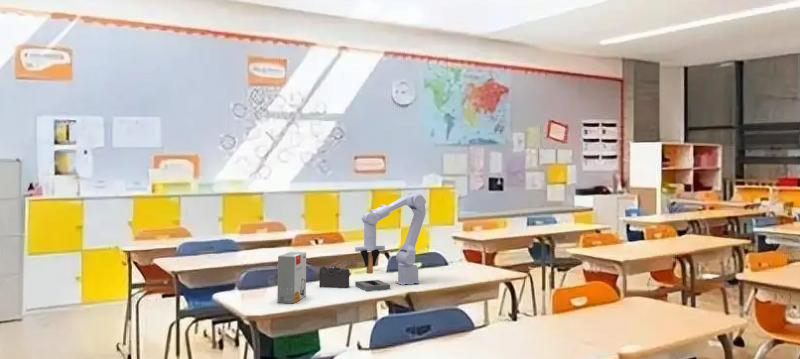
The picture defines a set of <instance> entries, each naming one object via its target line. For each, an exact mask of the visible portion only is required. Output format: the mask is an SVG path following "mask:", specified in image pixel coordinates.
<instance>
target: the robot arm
mask: <svg viewBox="0 0 800 359" xmlns="http://www.w3.org/2000/svg"><path fill="white" fill-rule="evenodd" d="M426 202H427V201H426V198H425V196H423V195H422V194H418V193H407V194H404V195H403V196H401V197H399V198H398V199H396V200H395V201H393V202H391V203H389V204H388V205H386V204H380V205H379V207H377V208H375V209H373V208H372V209H371V210H370V211H367V212H365V213H363V214H364V215H363V216H362V217H361V220H362V223H363V246H355V247H354V252H356V253H359V252H360V254H361V256H362V259H363V262H364V267H366V268H367V267H368V256H370V252H371V256H373V267H375V266H376V263H377V260H378V257H379V255H380V252H381V251H385V250H386V249H385V248H386V246H385V245H377V224H378V222H379V221H380V220H383V219H385V218H387V217H388V216H390V215H391V212H393V211H395V210H397V209H400V208H401V207H403V206H408V208H410V210H411V211H412V214H413V216H412V219H411V222H410V225H409V229H408V232H407V234H406V237H405V240H404V243H403V245H402V246H400V249H399V251H398V252H396V255H395V260H396V262H397V269H398V270H397V272H398V273H397V279H398V280H397V281H396V280H395V281H394V282H395V283H396V284H398V285H400V284H401V285H400V286H405V284H408V285H415V284H414V283H419V267H418V266H417V265H416V264H415V263H416V253H417V251H416V248H415V247H416V244H417V241H418V238H419V235H420V233H421V229H422V226H423V223H424V221H425V218H426V214H427V212H426V210H427V209H426Z"/></svg>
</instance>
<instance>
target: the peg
mask: <svg viewBox="0 0 800 359" xmlns="http://www.w3.org/2000/svg"><path fill="white" fill-rule="evenodd" d="M366 274H367V275H369V274H370V275H371V274H374V266H373V256H372V255H368V267H366Z"/></svg>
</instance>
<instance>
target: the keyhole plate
mask: <svg viewBox="0 0 800 359" xmlns="http://www.w3.org/2000/svg"><path fill="white" fill-rule="evenodd" d="M354 283H355V284H354V285H355V287H356V288H359V289H361V290H362V291H364V290H365V292H373V291H372V290H378V291H387V289H390V290H391V284H390V283H387V282H384V281H383V280H381V279H373V280H372V279H371V280H360V281H355V282H354Z"/></svg>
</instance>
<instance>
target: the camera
mask: <svg viewBox="0 0 800 359" xmlns="http://www.w3.org/2000/svg"><path fill="white" fill-rule="evenodd" d="M350 275H351V274H350V269H349V268H345V267H344V268H343V267H342V266H340V267H337V266H336V265H331V266H329V267H328V268H327V267H325V266H324V265H323V266H320V267H319V287H320V288H328V289H330V288H331V289H333V288H334V289H348V288H350Z"/></svg>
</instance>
